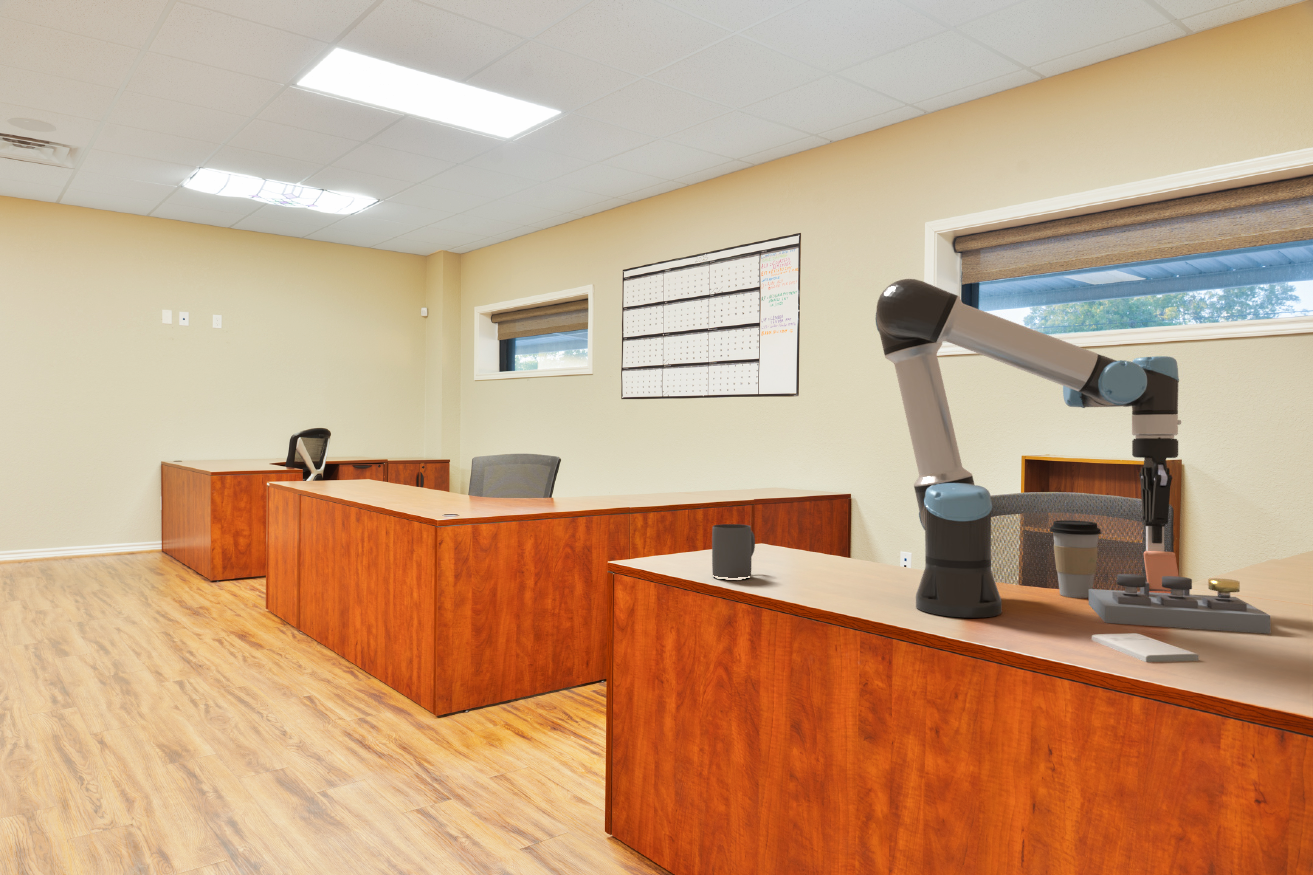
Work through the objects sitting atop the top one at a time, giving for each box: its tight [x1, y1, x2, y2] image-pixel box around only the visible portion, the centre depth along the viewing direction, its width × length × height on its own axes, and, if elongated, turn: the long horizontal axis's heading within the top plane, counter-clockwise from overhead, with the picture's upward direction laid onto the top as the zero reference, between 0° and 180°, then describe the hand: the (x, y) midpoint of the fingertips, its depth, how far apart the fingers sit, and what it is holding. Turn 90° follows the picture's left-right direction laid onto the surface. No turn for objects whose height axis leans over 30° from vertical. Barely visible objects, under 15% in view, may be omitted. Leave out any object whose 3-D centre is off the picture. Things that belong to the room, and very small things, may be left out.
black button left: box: [1116, 573, 1147, 593], centre depth 141 cm, size 4×4×3 cm
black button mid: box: [1162, 576, 1193, 596], centre depth 138 cm, size 4×4×3 cm
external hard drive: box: [1091, 632, 1200, 663], centre depth 120 cm, size 2×8×12 cm
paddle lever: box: [1143, 550, 1180, 593], centre depth 148 cm, size 5×1×8 cm
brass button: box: [1207, 577, 1241, 598], centre depth 136 cm, size 4×4×3 cm
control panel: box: [1088, 581, 1271, 635], centre depth 141 cm, size 24×16×5 cm, turn 70°
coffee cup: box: [1049, 519, 1102, 599], centre depth 162 cm, size 9×9×15 cm
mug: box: [711, 523, 756, 578], centre depth 185 cm, size 14×9×12 cm
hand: (1155, 559), depth 152 cm, fingers closed
